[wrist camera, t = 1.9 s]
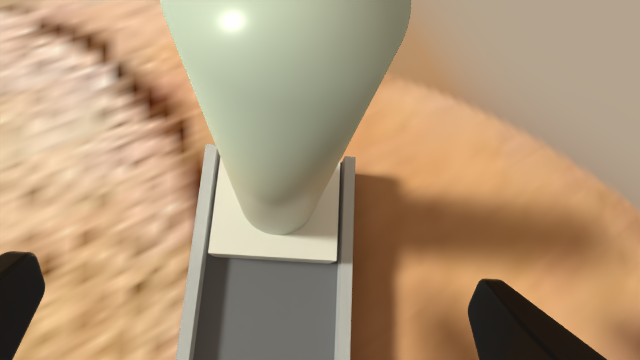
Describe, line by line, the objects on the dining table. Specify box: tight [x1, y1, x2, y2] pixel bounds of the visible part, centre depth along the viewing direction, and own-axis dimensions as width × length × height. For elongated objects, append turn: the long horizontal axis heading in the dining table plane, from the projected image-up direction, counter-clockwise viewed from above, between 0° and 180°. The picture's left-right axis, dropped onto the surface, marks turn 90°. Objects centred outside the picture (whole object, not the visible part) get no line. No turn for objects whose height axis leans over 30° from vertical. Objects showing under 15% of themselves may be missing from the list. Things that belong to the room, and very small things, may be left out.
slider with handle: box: [160, 0, 411, 264], centre depth 12 cm, size 5×5×14 cm
